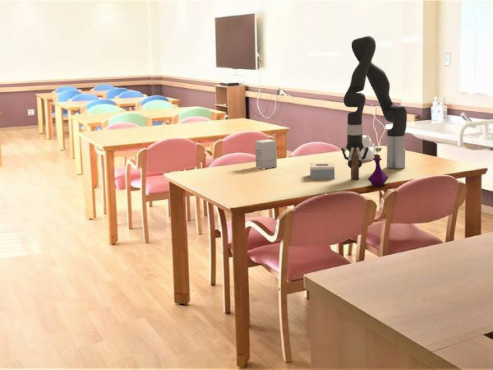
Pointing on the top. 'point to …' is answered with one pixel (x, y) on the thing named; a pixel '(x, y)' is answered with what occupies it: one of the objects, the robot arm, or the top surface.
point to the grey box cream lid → (322, 171)
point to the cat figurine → (367, 143)
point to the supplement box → (265, 153)
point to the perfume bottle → (378, 172)
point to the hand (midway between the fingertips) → (354, 167)
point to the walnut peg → (355, 165)
